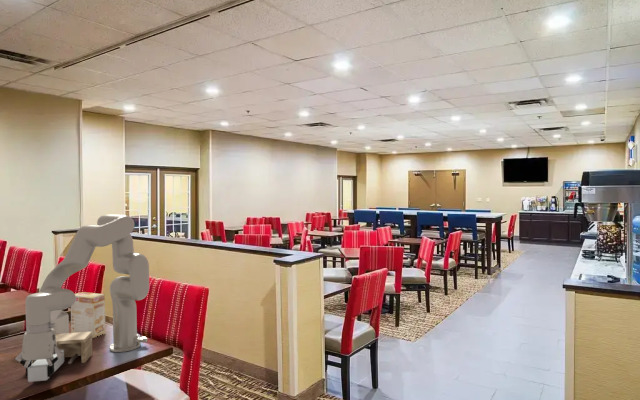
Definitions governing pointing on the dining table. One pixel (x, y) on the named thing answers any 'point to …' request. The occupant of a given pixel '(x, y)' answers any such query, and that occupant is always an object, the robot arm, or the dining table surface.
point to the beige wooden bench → (75, 345)
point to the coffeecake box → (88, 313)
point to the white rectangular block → (42, 369)
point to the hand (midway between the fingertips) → (40, 375)
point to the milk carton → (60, 321)
